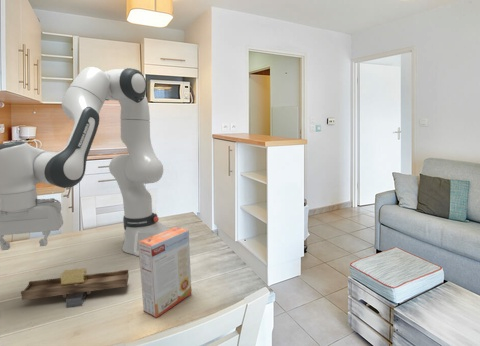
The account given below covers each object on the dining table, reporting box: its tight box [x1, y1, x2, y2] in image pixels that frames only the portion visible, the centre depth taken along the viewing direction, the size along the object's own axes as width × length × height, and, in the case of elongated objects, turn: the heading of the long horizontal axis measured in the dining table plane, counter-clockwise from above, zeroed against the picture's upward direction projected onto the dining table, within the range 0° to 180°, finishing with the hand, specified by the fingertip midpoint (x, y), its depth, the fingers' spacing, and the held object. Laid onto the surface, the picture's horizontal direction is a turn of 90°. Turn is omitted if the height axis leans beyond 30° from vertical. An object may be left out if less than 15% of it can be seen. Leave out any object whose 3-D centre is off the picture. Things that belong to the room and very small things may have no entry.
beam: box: [20, 269, 130, 301], centre depth 92 cm, size 28×6×4 cm, turn 105°
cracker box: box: [138, 226, 192, 319], centre depth 87 cm, size 14×6×21 cm, turn 145°
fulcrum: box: [65, 292, 87, 308], centre depth 92 cm, size 4×12×2 cm, turn 15°
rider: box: [60, 267, 88, 286], centre depth 91 cm, size 6×4×4 cm, turn 104°
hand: (25, 247), depth 87 cm, fingers open, 8 cm apart
